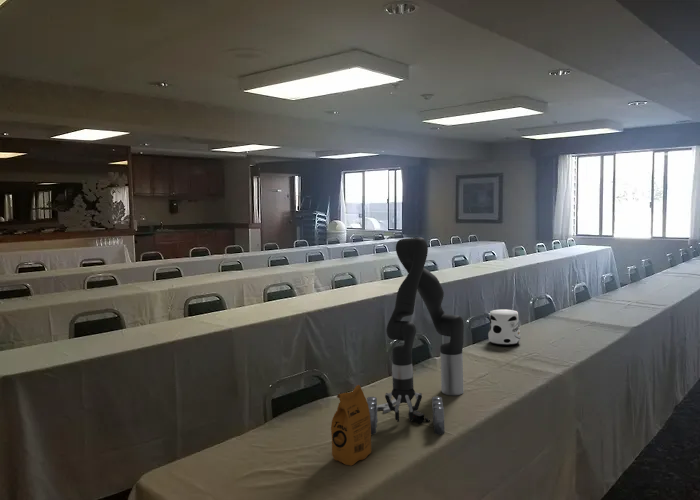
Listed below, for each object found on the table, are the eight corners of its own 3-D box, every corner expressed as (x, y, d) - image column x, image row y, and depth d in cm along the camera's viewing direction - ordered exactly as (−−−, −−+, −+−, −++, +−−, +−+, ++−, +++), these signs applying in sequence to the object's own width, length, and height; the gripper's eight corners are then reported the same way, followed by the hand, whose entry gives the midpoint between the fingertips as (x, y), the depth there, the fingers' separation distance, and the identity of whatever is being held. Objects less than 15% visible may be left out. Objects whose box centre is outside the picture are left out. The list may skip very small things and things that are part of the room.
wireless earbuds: (420, 425, 190) (420, 416, 189) (408, 419, 196) (408, 411, 195) (430, 422, 192) (430, 413, 192) (417, 416, 198) (417, 408, 198)
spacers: (368, 419, 196) (367, 396, 196) (442, 419, 193) (441, 396, 192) (365, 434, 184) (364, 409, 183) (445, 434, 181) (444, 409, 180)
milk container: (526, 346, 286) (525, 313, 284) (496, 348, 283) (495, 316, 282) (512, 338, 303) (511, 308, 301) (483, 340, 301) (483, 310, 299)
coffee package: (327, 459, 167) (324, 392, 165) (353, 445, 176) (350, 381, 174) (350, 468, 160) (347, 399, 158) (376, 453, 169) (373, 387, 168)
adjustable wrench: (408, 393, 223) (408, 389, 223) (421, 396, 219) (421, 392, 219) (371, 411, 205) (371, 407, 205) (384, 415, 201) (384, 411, 200)
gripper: (422, 371, 192) (423, 417, 194) (383, 372, 194) (385, 416, 195) (422, 378, 185) (424, 425, 186) (382, 378, 186) (384, 425, 188)
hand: (404, 420), depth 191 cm, fingers open, 4 cm apart
